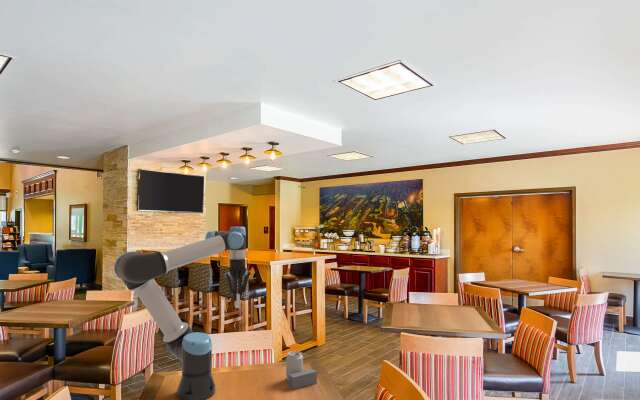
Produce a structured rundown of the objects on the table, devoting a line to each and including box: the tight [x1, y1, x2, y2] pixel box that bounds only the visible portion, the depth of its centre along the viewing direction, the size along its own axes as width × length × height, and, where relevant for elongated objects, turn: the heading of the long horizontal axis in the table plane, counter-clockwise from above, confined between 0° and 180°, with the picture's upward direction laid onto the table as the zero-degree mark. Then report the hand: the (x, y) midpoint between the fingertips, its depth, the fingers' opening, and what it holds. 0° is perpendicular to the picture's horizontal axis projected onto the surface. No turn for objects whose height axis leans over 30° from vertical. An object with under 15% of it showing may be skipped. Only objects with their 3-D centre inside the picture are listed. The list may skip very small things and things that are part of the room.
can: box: [285, 350, 304, 382], centre depth 178 cm, size 8×8×12 cm
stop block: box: [288, 368, 318, 390], centre depth 173 cm, size 12×4×5 cm, turn 124°
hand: (237, 307), depth 192 cm, fingers closed
